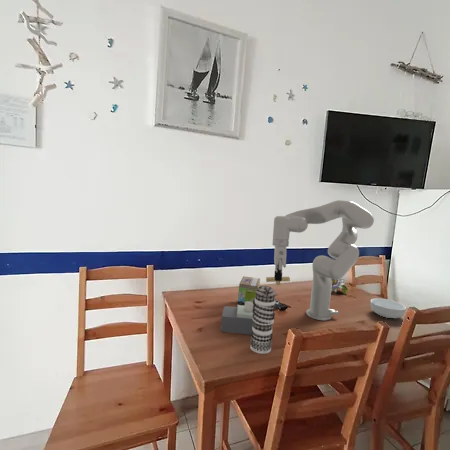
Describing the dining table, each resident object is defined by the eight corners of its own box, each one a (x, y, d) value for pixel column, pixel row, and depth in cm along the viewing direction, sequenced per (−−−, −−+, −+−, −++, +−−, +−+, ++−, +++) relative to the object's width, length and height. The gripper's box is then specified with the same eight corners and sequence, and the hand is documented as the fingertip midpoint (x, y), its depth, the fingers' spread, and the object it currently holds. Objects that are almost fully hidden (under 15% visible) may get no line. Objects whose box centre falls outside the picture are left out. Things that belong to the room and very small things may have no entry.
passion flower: (330, 301, 196) (320, 282, 199) (339, 294, 204) (329, 276, 207) (345, 296, 187) (334, 276, 190) (355, 289, 195) (344, 270, 198)
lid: (259, 310, 140) (259, 300, 140) (259, 319, 130) (260, 308, 130) (237, 308, 141) (238, 297, 141) (236, 317, 131) (237, 306, 131)
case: (258, 323, 142) (260, 309, 141) (259, 335, 131) (260, 320, 130) (223, 320, 143) (224, 306, 142) (220, 331, 132) (221, 316, 131)
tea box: (255, 313, 153) (258, 286, 151) (236, 311, 155) (238, 283, 153) (258, 303, 168) (260, 277, 166) (240, 300, 170) (242, 275, 168)
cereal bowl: (404, 315, 166) (405, 302, 165) (404, 326, 151) (406, 312, 150) (370, 307, 174) (371, 295, 173) (367, 316, 160) (369, 304, 159)
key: (289, 283, 145) (289, 276, 145) (289, 284, 143) (289, 278, 143) (266, 283, 146) (266, 277, 146) (266, 285, 144) (266, 278, 144)
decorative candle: (260, 356, 114) (265, 293, 111) (244, 345, 121) (249, 286, 118) (276, 350, 120) (282, 290, 116) (261, 340, 127) (266, 283, 124)
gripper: (290, 246, 134) (287, 286, 136) (286, 239, 150) (283, 275, 152) (273, 245, 134) (271, 284, 137) (271, 238, 150) (269, 274, 153)
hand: (277, 279), depth 144 cm, fingers closed on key, 2 cm apart
